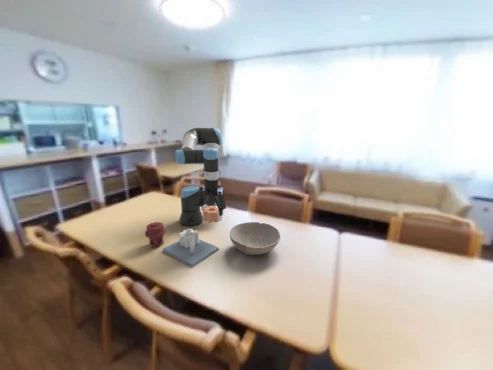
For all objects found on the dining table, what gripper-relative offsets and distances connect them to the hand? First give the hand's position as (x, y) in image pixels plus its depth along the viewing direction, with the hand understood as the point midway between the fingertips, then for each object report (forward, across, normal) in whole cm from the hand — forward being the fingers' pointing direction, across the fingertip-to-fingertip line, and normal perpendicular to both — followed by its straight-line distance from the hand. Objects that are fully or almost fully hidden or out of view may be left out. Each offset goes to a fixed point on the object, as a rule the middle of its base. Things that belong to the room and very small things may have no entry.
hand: (212, 218), depth 128 cm
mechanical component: (+14, -22, -20) cm, 33 cm away
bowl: (+14, +24, +6) cm, 28 cm away
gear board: (+14, -3, -14) cm, 20 cm away
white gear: (+12, -7, -11) cm, 18 cm away
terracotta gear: (0, 0, 0) cm, 0 cm away
